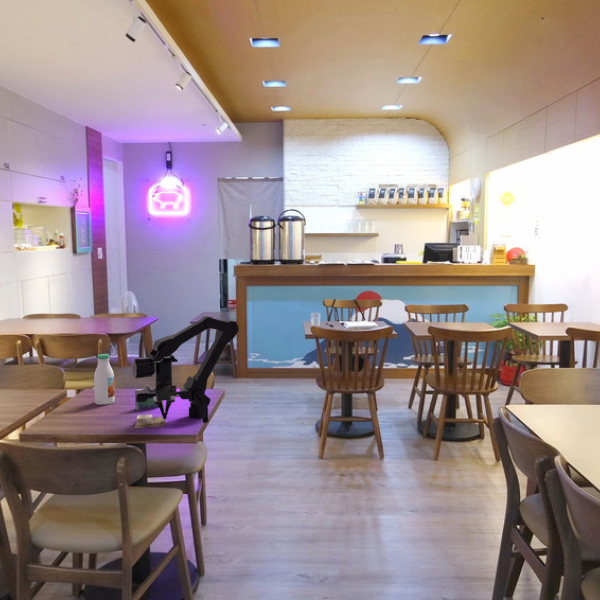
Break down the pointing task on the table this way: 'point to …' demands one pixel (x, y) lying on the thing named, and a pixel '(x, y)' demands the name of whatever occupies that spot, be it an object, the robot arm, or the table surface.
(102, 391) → the milk bottle
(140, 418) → the coaster
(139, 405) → the flask
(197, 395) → the robot arm
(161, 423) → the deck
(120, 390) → the table surface
